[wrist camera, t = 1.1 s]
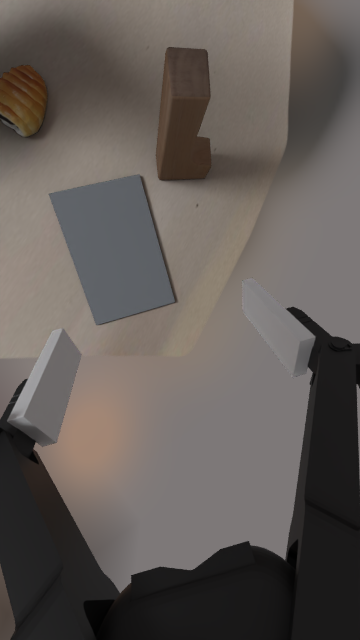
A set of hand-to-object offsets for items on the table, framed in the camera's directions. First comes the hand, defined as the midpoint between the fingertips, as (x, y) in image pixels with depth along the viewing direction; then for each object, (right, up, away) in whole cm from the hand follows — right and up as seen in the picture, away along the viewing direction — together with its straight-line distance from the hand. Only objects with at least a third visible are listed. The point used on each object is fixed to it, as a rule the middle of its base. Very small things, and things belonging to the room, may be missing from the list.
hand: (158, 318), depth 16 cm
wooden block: (+2, +29, +24) cm, 38 cm away
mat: (-10, +13, +25) cm, 29 cm away
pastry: (-24, +34, +19) cm, 46 cm away
